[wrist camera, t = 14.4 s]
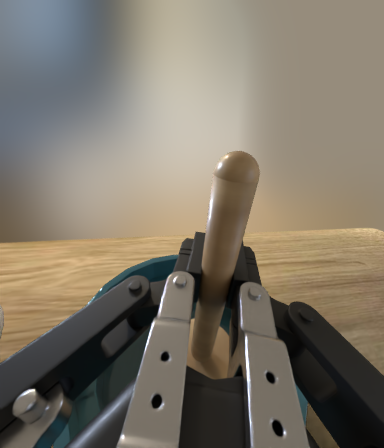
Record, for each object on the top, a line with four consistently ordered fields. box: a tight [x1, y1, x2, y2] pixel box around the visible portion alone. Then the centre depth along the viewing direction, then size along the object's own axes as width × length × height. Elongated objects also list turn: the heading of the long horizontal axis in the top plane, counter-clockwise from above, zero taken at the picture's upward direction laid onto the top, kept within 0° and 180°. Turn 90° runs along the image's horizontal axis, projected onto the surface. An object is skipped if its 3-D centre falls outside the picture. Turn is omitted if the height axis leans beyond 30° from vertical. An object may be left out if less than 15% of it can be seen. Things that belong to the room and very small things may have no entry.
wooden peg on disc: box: [186, 151, 260, 379], centre depth 10 cm, size 6×6×17 cm
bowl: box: [53, 255, 308, 448], centre depth 15 cm, size 16×16×6 cm
